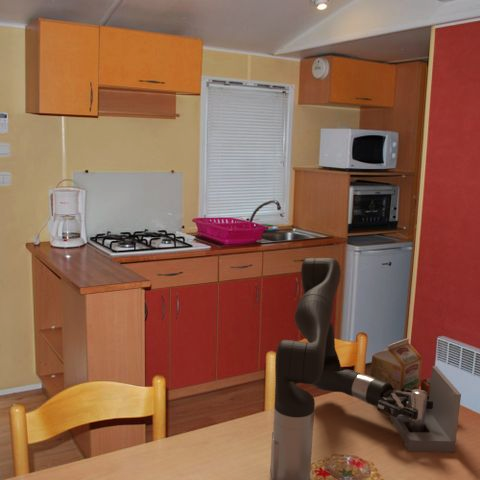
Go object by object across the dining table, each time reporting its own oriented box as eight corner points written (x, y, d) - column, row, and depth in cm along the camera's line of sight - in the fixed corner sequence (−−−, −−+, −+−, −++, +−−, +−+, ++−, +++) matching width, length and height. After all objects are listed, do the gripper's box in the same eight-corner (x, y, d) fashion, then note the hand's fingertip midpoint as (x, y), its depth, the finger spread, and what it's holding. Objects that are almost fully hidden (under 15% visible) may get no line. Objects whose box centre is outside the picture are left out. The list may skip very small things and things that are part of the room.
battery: (446, 413, 175) (449, 381, 174) (424, 414, 174) (428, 382, 172) (438, 406, 180) (442, 375, 178) (417, 407, 178) (421, 376, 177)
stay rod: (410, 440, 159) (414, 395, 156) (405, 433, 163) (409, 389, 160) (424, 441, 159) (429, 396, 157) (420, 433, 163) (424, 389, 161)
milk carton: (397, 411, 175) (403, 350, 172) (368, 398, 183) (373, 340, 179) (417, 402, 182) (423, 343, 178) (388, 389, 190) (393, 333, 186)
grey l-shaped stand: (408, 450, 154) (414, 393, 151) (389, 417, 172) (394, 365, 169) (454, 451, 154) (461, 394, 151) (431, 418, 172) (436, 366, 169)
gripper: (359, 385, 163) (413, 406, 152) (385, 371, 173) (438, 389, 162) (357, 410, 165) (410, 432, 154) (383, 395, 175) (435, 415, 164)
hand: (425, 410), depth 158 cm, fingers open, 8 cm apart
